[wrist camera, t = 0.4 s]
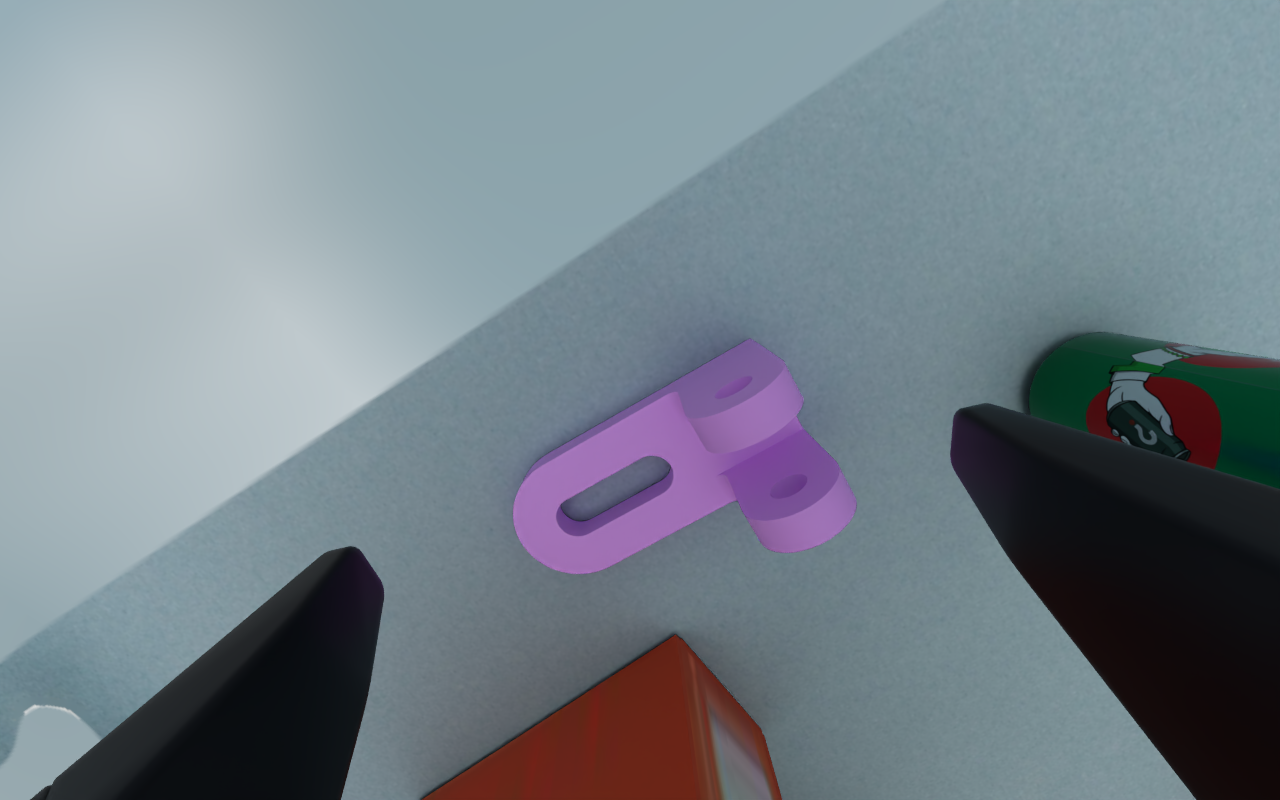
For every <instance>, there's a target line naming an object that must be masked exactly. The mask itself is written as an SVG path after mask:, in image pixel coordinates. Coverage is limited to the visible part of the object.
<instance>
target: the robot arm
mask: <svg viewBox="0 0 1280 800" xmlns="http://www.w3.org/2000/svg"><path fill="white" fill-rule="evenodd" d="M950 457H951V463H952V466H953V468H954V471H955V472H956V474H957V476H958V477H959V479H960V481H961V482H962V484H963V485H964V487H965V489H966V490H967V492H968V493H969V495H970V497H971V498H972V500H973V502H974V503H975V505H976V506H977V508H978V510H979V511H980V513H981V514H982V516H983V518H984V519H985V521H986V523H987V524H988V526H989V527H990V529H991V531H992V532H993V534H994V535H995V537H996V539H997V540H998V542H999V544H1000V545H1001V547H1002V548H1003V550H1004V551H1005V553H1006V554H1007V556H1008V557H1009V559H1010V560H1011V562H1012V563H1013V564H1014V566H1015V567H1016V568H1017V570H1018V571H1019V572H1020V574H1021V575H1022V576H1023V578H1024V579H1025V580H1026V581H1027V583H1028V584H1029V585H1030V587H1031V588H1032V589H1033V590H1034V592H1035V593H1036V594H1037V596H1038V597H1039V598H1040V599H1041V601H1042V602H1043V603H1044V605H1045V606H1046V607H1047V608H1048V610H1049V611H1050V612H1051V614H1052V615H1053V616H1054V617H1055V619H1056V620H1057V621H1058V623H1059V624H1060V625H1061V626H1062V628H1063V629H1064V630H1065V632H1066V633H1067V634H1068V635H1069V637H1070V638H1071V639H1072V640H1073V642H1074V643H1075V644H1076V646H1077V647H1078V648H1079V649H1080V651H1081V652H1082V653H1083V655H1084V656H1085V657H1086V658H1087V660H1088V661H1089V662H1090V664H1091V665H1092V666H1093V667H1094V669H1095V670H1096V671H1097V673H1098V674H1099V675H1100V676H1101V678H1102V679H1103V680H1104V682H1105V683H1106V684H1107V685H1108V687H1109V688H1110V689H1111V691H1112V692H1113V693H1114V694H1115V696H1116V697H1117V698H1118V700H1119V701H1120V702H1121V703H1122V705H1123V706H1124V707H1125V709H1126V710H1127V711H1128V712H1129V714H1130V715H1131V716H1132V718H1133V719H1134V720H1135V721H1136V723H1137V724H1138V725H1139V727H1140V728H1141V729H1142V730H1143V732H1144V733H1145V734H1146V735H1147V737H1148V738H1149V739H1150V741H1151V742H1152V743H1153V744H1154V746H1155V747H1156V748H1157V750H1158V751H1159V752H1160V753H1161V755H1162V756H1163V757H1164V759H1165V760H1166V761H1167V762H1168V764H1169V765H1170V766H1171V768H1172V769H1173V770H1174V771H1175V773H1176V774H1177V775H1178V777H1179V778H1180V779H1181V780H1182V782H1183V783H1184V784H1185V786H1186V787H1187V788H1188V789H1189V791H1190V792H1191V793H1192V795H1193V796H1194V797H1195V798H1196V800H1280V489H1278V488H1274V487H1271V486H1268V485H1264V484H1261V483H1257V482H1254V481H1251V480H1247V479H1244V478H1240V477H1237V476H1234V475H1230V474H1227V473H1223V472H1220V471H1217V470H1213V469H1210V468H1206V467H1203V466H1200V465H1196V464H1193V463H1189V462H1186V461H1183V460H1179V459H1176V458H1173V457H1169V456H1166V455H1162V454H1159V453H1156V452H1152V451H1149V450H1145V449H1142V448H1139V447H1135V446H1132V445H1128V444H1125V443H1122V442H1118V441H1115V440H1111V439H1108V438H1105V437H1101V436H1098V435H1094V434H1091V433H1088V432H1084V431H1081V430H1077V429H1074V428H1071V427H1067V426H1064V425H1061V424H1057V423H1054V422H1050V421H1047V420H1044V419H1040V418H1037V417H1033V416H1030V415H1027V414H1023V413H1020V412H1016V411H1013V410H1010V409H1006V408H1003V407H1000V406H996V405H993V404H988V403H984V404H979V405H974V406H970V407H966V408H961V409H959V410H958V411H957V412H956V413H955V415H954V419H953V429H952V440H951V452H950ZM383 601H384V588H383V585H382V582H381V580H380V578H379V577H378V575H377V574H376V572H375V571H374V570H373V568H372V567H371V565H370V564H369V562H368V561H367V559H366V558H365V556H364V555H363V553H362V552H361V551H360V550H359V549H358V548H356V547H352V546H349V547H344V548H340V549H336V550H331V551H328V552H326V553H324V554H323V555H321V556H320V557H319V558H318V559H317V560H315V561H314V562H313V563H312V564H311V565H309V566H308V567H307V568H306V569H305V570H304V571H302V572H301V573H300V574H299V575H298V576H296V577H295V578H294V579H293V580H292V581H290V582H289V583H288V584H287V585H286V586H284V587H283V588H282V589H281V590H280V591H279V592H277V593H276V594H275V595H274V596H273V597H271V598H270V599H269V600H268V601H267V602H265V603H264V604H263V605H262V606H261V607H259V608H258V609H257V610H256V611H255V612H253V613H252V614H251V615H250V616H249V617H248V618H246V619H245V620H244V621H243V622H242V623H240V624H239V625H238V626H237V627H236V628H234V629H233V630H232V631H231V632H230V633H228V634H227V635H226V636H225V637H224V638H223V639H221V640H220V641H219V642H218V643H217V644H215V645H214V646H213V647H212V648H211V649H209V650H208V651H207V652H206V653H205V654H203V655H202V656H201V657H200V658H199V659H198V660H196V661H195V662H194V663H193V664H192V665H190V666H189V667H188V668H187V669H186V670H184V671H183V672H182V673H181V674H180V675H178V676H177V677H176V678H175V679H174V680H172V681H171V682H170V683H169V684H168V685H167V686H165V687H164V688H163V689H162V690H161V691H159V692H158V693H157V694H156V695H155V696H153V697H152V698H151V699H150V700H149V701H147V702H146V703H145V704H144V705H143V706H142V707H140V708H139V709H138V710H137V711H136V712H134V713H133V714H132V715H131V716H130V717H128V718H127V719H126V720H125V721H124V722H122V723H121V724H120V725H119V726H118V727H117V728H115V729H114V730H113V731H112V732H111V733H109V734H108V735H107V736H106V737H105V738H103V739H102V740H101V741H100V742H99V743H98V744H96V745H95V746H94V747H93V748H92V749H90V750H89V751H88V752H87V753H86V754H84V755H83V756H82V757H81V758H80V759H78V760H77V761H76V762H75V763H74V764H72V765H71V766H70V767H69V768H68V769H67V770H65V771H64V772H63V773H62V774H61V775H59V776H58V777H57V778H56V779H55V780H54V782H53V784H52V785H50V786H47V787H45V788H44V789H43V790H41V791H40V792H39V793H38V794H36V795H35V796H34V797H33V798H32V799H30V800H341V797H342V793H343V789H344V786H345V782H346V778H347V774H348V770H349V767H350V763H351V759H352V755H353V752H354V748H355V744H356V740H357V736H358V733H359V729H360V725H361V721H362V718H363V714H364V710H365V705H366V701H367V697H368V692H369V687H370V682H371V676H372V670H373V663H374V657H375V651H376V645H377V639H378V632H379V626H380V620H381V614H382V607H383Z"/></svg>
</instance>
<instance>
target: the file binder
mask: <svg viewBox="0 0 1280 800" xmlns="http://www.w3.org/2000/svg"><path fill="white" fill-rule="evenodd" d="M422 800H782V797H781V794H780V790H779V787H778V783H777V779H776V776H775V772H774V769H773V765H772V762H771V758H770V755H769V751H768V747H767V744H766V740H765V737H764V735H763V734H762V730H761V729H760V727H759V726H758V725H757V724H756V723H755V722H754V721H753V719H752V718H751V717H750V716H749V715H748V714H747V713H746V711H745V710H744V709H743V708H742V707H741V706H740V705H739V703H738V702H737V701H736V700H735V699H734V698H733V697H732V695H731V694H730V693H729V692H728V691H727V690H726V689H725V687H724V686H723V685H722V684H721V683H720V682H719V681H718V679H717V678H716V677H715V676H714V675H713V674H712V673H711V671H710V670H709V669H708V668H707V667H706V666H705V665H704V663H703V662H702V661H701V660H700V659H699V658H698V657H697V655H696V654H695V653H694V652H693V651H692V650H691V649H690V647H689V646H688V645H687V644H686V643H685V642H684V641H683V639H682V638H679V637H678V636H677V635H674V636H673V637H671V638H670V639H668V640H667V641H665V642H664V643H662V644H661V645H659V646H658V647H656V648H654V649H653V650H651V651H650V652H648V653H647V654H645V655H644V656H642V657H641V658H639V659H638V660H636V661H634V662H633V663H631V664H630V665H628V666H627V667H625V668H624V669H622V670H621V671H619V672H618V673H616V674H614V675H613V676H611V677H610V678H608V679H607V680H605V681H604V682H602V683H601V684H599V685H597V686H596V687H594V688H593V689H591V690H590V691H588V692H587V693H585V694H584V695H582V696H581V697H579V698H577V699H576V700H574V701H573V702H571V703H570V704H568V705H567V706H565V707H564V708H562V709H561V710H559V711H557V712H556V713H554V714H553V715H551V716H550V717H548V718H547V719H545V720H544V721H542V722H541V723H539V724H537V725H536V726H534V727H533V728H531V729H530V730H528V731H527V732H525V733H524V734H522V735H520V736H519V737H517V738H516V739H514V740H513V741H511V742H510V743H508V744H507V745H505V746H504V747H502V748H500V749H499V750H497V751H496V752H494V753H493V754H491V755H490V756H488V757H487V758H485V759H484V760H482V761H480V762H479V763H477V764H476V765H474V766H473V767H471V768H470V769H468V770H467V771H465V772H464V773H462V774H460V775H459V776H457V777H456V778H454V779H453V780H451V781H450V782H448V783H447V784H445V785H443V786H442V787H440V788H439V789H437V790H436V791H434V792H433V793H431V794H430V795H428V796H427V797H425V798H423V799H422Z"/></svg>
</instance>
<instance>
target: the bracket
mask: <svg viewBox="0 0 1280 800" xmlns="http://www.w3.org/2000/svg"><path fill="white" fill-rule="evenodd" d="M803 401H804V400H803V397H802V395H801V393H800V391H799V389H798V387H797V385H796V383H795V381H794V380H793V378H792V376H791V374H790V372H789V370H788V368H787V366H786V364H785V362H784V361H783V360H782V359H780V358H779V357H777V356H776V355H775V354H773V353H772V352H770V351H769V350H767V349H766V348H764V347H763V346H761V345H760V344H758V343H757V342H755V341H754V340H752V339H751V338H749V339H748V340H746V341H744V342H742V343H741V344H739V345H737V346H735V347H734V348H732V349H730V350H728V351H727V352H725V353H723V354H721V355H720V356H718V357H716V358H714V359H713V360H711V361H709V362H707V363H706V364H704V365H702V366H700V367H699V368H697V369H695V370H693V371H692V372H690V373H688V374H686V375H685V376H683V377H681V378H679V379H678V380H676V381H674V382H672V383H671V384H669V385H667V386H665V387H664V388H662V389H660V390H658V391H657V392H655V393H653V394H651V395H650V396H648V397H646V398H644V399H643V400H641V401H639V402H637V403H636V404H634V405H632V406H630V407H629V408H627V409H625V410H623V411H622V412H620V413H618V414H616V415H615V416H613V417H611V418H609V419H607V420H606V421H604V422H602V423H600V424H599V425H597V426H595V427H593V428H592V429H590V430H588V431H586V432H585V433H583V434H581V435H579V436H578V437H576V438H574V439H572V440H571V441H569V442H567V443H565V444H564V445H562V446H560V447H558V448H557V449H555V450H553V451H551V452H550V453H548V454H546V455H545V456H543V457H542V458H541V459H539V460H538V461H537V462H536V463H535V464H534V465H533V466H532V467H531V469H530V470H529V471H528V473H527V475H526V476H525V478H524V480H523V482H522V484H521V486H520V488H519V491H518V493H517V495H516V498H515V502H514V507H513V521H514V526H515V530H516V533H517V535H518V538H519V540H520V541H521V543H522V545H523V546H524V548H525V549H526V550H527V551H528V552H529V553H530V555H532V556H533V557H534V558H535V559H536V560H538V561H539V562H540V563H542V564H544V565H545V566H547V567H549V568H552V569H554V570H557V571H560V572H564V573H571V574H587V573H593V572H597V571H601V570H603V569H606V568H608V567H610V566H612V565H614V564H616V563H618V562H620V561H622V560H623V559H625V558H627V557H629V556H631V555H633V554H635V553H637V552H638V551H640V550H642V549H644V548H646V547H648V546H650V545H652V544H653V543H655V542H657V541H659V540H661V539H663V538H665V537H667V536H668V535H670V534H672V533H674V532H676V531H678V530H680V529H682V528H683V527H685V526H687V525H689V524H691V523H693V522H695V521H697V520H698V519H700V518H702V517H704V516H706V515H708V514H710V513H712V512H713V511H715V510H717V509H719V508H721V507H723V506H725V505H727V504H728V503H730V502H733V501H738V503H739V505H740V507H741V509H742V512H743V513H744V515H745V517H746V518H747V520H748V522H749V523H750V525H751V527H752V529H753V530H754V532H755V534H756V535H757V537H758V539H759V540H760V542H761V544H762V545H763V546H764V547H765V548H767V549H769V550H771V551H774V552H780V553H793V552H799V551H804V550H807V549H810V548H813V547H816V546H818V545H820V544H822V543H824V542H826V541H828V540H829V539H831V538H833V537H834V536H835V535H837V534H838V533H839V532H840V531H842V530H843V529H844V528H845V527H846V525H847V524H848V523H849V522H850V521H851V519H852V517H853V516H854V513H855V511H856V506H857V502H856V498H855V496H854V494H853V492H852V490H851V488H850V486H849V484H848V482H847V480H846V479H845V477H844V475H843V473H842V471H841V469H840V467H839V465H838V463H837V462H836V461H835V460H834V459H833V458H832V457H831V456H830V455H829V454H828V453H827V452H826V451H825V450H824V449H823V448H822V447H821V446H820V445H819V444H818V443H817V442H816V441H815V440H814V439H813V438H812V437H811V436H810V435H809V434H808V433H807V432H806V431H805V430H804V429H803V427H802V425H801V424H800V422H799V420H798V418H797V416H796V415H797V414H798V413H799V411H800V410H801V408H802V406H803ZM646 456H658V457H661V458H663V459H665V460H666V461H667V462H668V463H669V464H670V465H671V469H670V472H669V474H668V475H667V476H666V477H665V478H664V479H663V480H661V481H660V482H658V483H656V484H654V485H652V486H650V487H649V488H647V489H645V490H643V491H641V492H639V493H638V494H636V495H634V496H632V497H630V498H628V499H627V500H625V501H623V502H621V503H619V504H618V505H616V506H614V507H612V508H610V509H608V510H607V511H605V512H603V513H601V514H599V515H597V516H596V517H594V518H592V519H590V520H587V521H575V520H572V519H570V518H568V517H567V516H566V515H565V514H564V513H563V511H562V509H561V504H562V503H563V502H564V501H565V500H567V499H569V498H571V497H573V496H574V495H576V494H578V493H580V492H582V491H583V490H585V489H587V488H589V487H591V486H592V485H594V484H596V483H598V482H600V481H601V480H603V479H605V478H607V477H609V476H610V475H612V474H614V473H616V472H618V471H619V470H621V469H623V468H625V467H627V466H628V465H630V464H632V463H634V462H636V461H637V460H639V459H641V458H643V457H646Z"/></svg>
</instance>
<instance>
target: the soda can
mask: <svg viewBox="0 0 1280 800" xmlns="http://www.w3.org/2000/svg"><path fill="white" fill-rule="evenodd" d="M1029 406H1030V413H1031V416H1033V417H1037V418H1040V419H1044V420H1047V421H1050V422H1054V423H1057V424H1061V425H1064V426H1067V427H1071V428H1074V429H1077V430H1081V431H1084V432H1088V433H1091V434H1094V435H1098V436H1101V437H1105V438H1108V439H1111V440H1115V441H1118V442H1122V443H1125V444H1128V445H1132V446H1135V447H1139V448H1142V449H1145V450H1149V451H1152V452H1156V453H1159V454H1162V455H1166V456H1169V457H1173V458H1176V459H1179V460H1183V461H1186V462H1189V463H1193V464H1196V465H1200V466H1203V467H1206V468H1210V469H1213V470H1217V471H1220V472H1223V473H1227V474H1230V475H1234V476H1237V477H1240V478H1244V479H1247V480H1251V481H1254V482H1257V483H1261V484H1264V485H1268V486H1271V487H1274V488H1278V489H1280V359H1274V358H1268V357H1262V356H1255V355H1249V354H1243V353H1236V352H1230V351H1223V350H1217V349H1211V348H1204V347H1198V346H1192V345H1185V344H1179V343H1173V342H1166V341H1160V340H1153V339H1147V338H1141V337H1134V336H1128V335H1122V334H1115V333H1109V332H1096V333H1088V334H1085V335H1081V336H1078V337H1076V338H1074V339H1071V340H1069V341H1068V342H1066V343H1064V344H1063V345H1061V346H1060V347H1058V348H1057V349H1056V350H1055V351H1053V352H1052V353H1051V354H1050V355H1049V356H1048V357H1047V358H1046V359H1045V360H1044V362H1043V363H1042V364H1041V366H1040V367H1039V368H1038V370H1037V372H1036V374H1035V376H1034V378H1033V381H1032V383H1031V388H1030V393H1029Z"/></svg>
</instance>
